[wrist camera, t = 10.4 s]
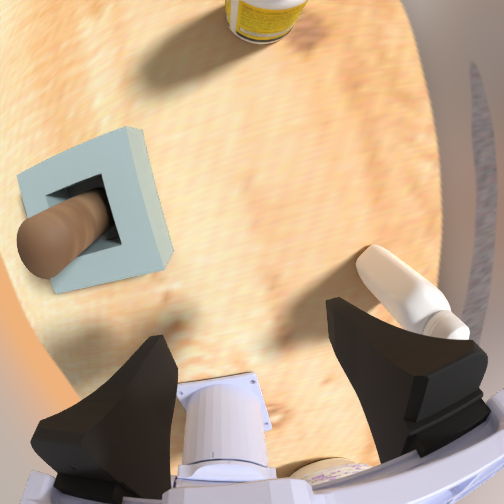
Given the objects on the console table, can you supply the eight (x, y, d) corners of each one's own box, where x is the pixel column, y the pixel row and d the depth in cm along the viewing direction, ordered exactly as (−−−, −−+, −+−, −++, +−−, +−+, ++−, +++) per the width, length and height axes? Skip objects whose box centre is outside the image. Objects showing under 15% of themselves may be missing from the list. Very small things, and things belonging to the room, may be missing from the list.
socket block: (174, 250, 21) (164, 269, 18) (75, 274, 21) (56, 294, 18) (142, 129, 18) (125, 126, 15) (42, 169, 18) (16, 175, 15)
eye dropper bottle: (397, 232, 22) (502, 300, 11) (403, 289, 24) (485, 372, 13) (351, 249, 22) (442, 337, 11) (361, 307, 24) (431, 406, 13)
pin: (123, 227, 20) (72, 274, 12) (86, 234, 19) (28, 281, 12) (114, 183, 18) (53, 210, 11) (76, 192, 18) (10, 223, 11)
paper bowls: (383, 455, 35) (399, 491, 28) (312, 494, 38) (320, 528, 31) (331, 436, 31) (348, 486, 23) (250, 480, 34) (254, 524, 26)
